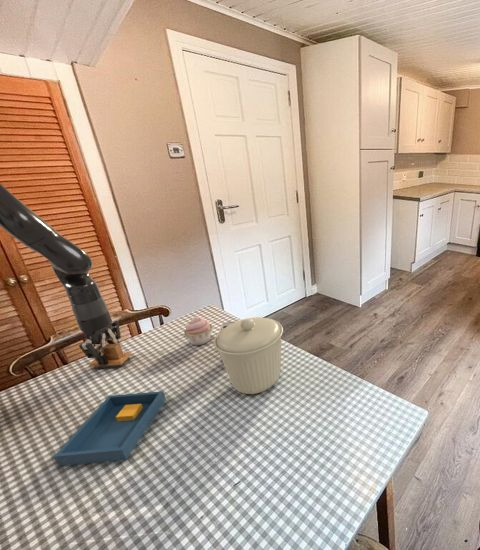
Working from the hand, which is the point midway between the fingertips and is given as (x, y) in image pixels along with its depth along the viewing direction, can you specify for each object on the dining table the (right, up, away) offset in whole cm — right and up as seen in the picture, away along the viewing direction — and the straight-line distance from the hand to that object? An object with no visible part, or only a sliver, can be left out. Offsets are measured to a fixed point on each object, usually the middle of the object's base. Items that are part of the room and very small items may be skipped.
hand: (110, 359), depth 97 cm
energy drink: (+39, 0, +4) cm, 39 cm away
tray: (+22, -11, -23) cm, 34 cm away
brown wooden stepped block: (0, -2, +1) cm, 2 cm away
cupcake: (+23, +3, +13) cm, 26 cm away
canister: (+50, -5, -7) cm, 51 cm away
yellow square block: (+22, -9, -19) cm, 30 cm away
